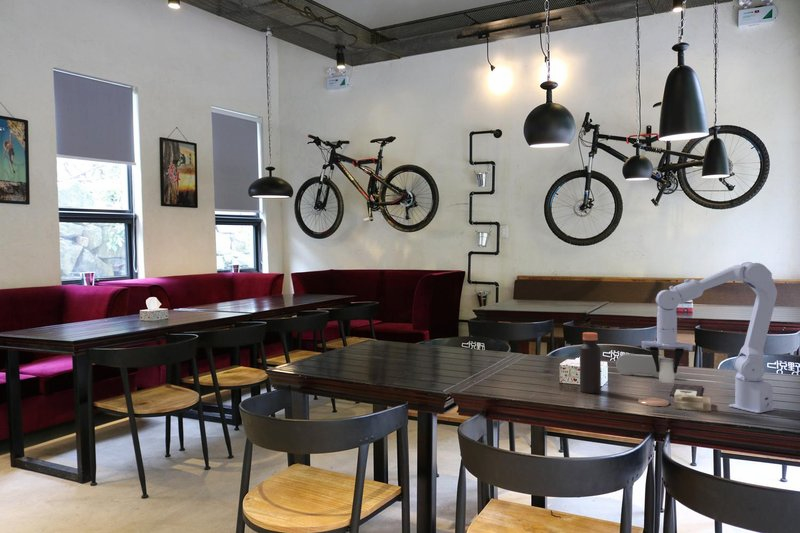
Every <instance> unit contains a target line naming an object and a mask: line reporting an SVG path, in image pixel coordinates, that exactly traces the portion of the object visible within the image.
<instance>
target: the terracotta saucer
mask: <svg viewBox="0 0 800 533" xmlns="http://www.w3.org/2000/svg"><path fill="white" fill-rule="evenodd" d="M637 403H638V404H641V405H643V406H647V405H648V407H657V406H661V407H666V406H669V404H670V401H669V400H667V399H664V398H659V397H652V396H651V397H639V398H638V399H637Z"/></svg>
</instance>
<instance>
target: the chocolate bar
mask: <svg viewBox="0 0 800 533" xmlns="http://www.w3.org/2000/svg"><path fill="white" fill-rule="evenodd" d="M703 386H704V385H694V384H686V383H685V384H683V383H681V384H680V383H673V387H672V389H671V391H670V393H669V397H671V396H673V397H672V398H674V396H675V395H686V396H699V397H702V392H703V389H702V388H703Z"/></svg>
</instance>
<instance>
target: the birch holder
mask: <svg viewBox="0 0 800 533" xmlns="http://www.w3.org/2000/svg"><path fill="white" fill-rule="evenodd" d="M673 398H674V400H673V402H674V403H673V409H674V408H675V409H676V410H685V409H686V411H687V410H688V411H697V410H698V411H697V412H700V411H701V412H708V411H711V412H712V403H711V398H710V397H709V396H701V397H699V396H686V395H675V396H674V397H673Z"/></svg>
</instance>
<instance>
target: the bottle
mask: <svg viewBox="0 0 800 533" xmlns="http://www.w3.org/2000/svg"><path fill="white" fill-rule="evenodd" d="M598 339H599V338H598V333H597V332H592V331H591V332H590V331H587V332H582V342H583V343H582V345H580V346H579V392H582V393H585V394H599V393H600V392H601V391H602V390H601V389H602V388H601V387H602V384H601V382H602V381H601V378H602V377H601V376H602V374H601V373H602V370H601V368H602V367H601V363H602V362H601V361H602V359H601V352H602V351H601V350H602V349H601V347H600V346H599V345H598V343H597V342H598Z"/></svg>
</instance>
